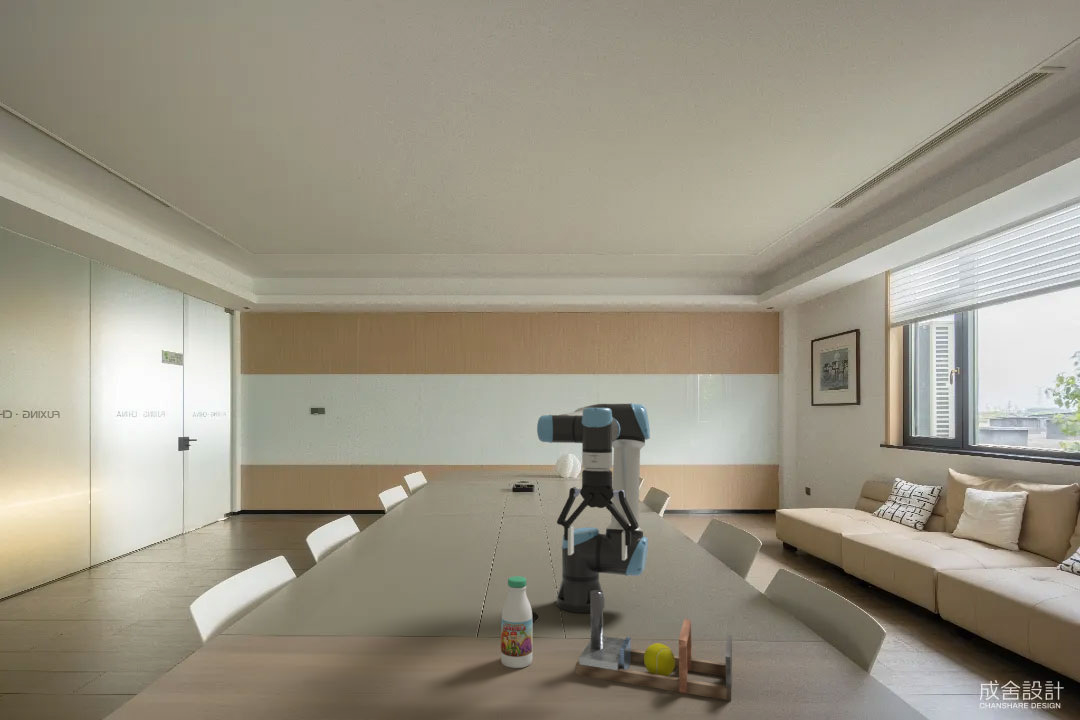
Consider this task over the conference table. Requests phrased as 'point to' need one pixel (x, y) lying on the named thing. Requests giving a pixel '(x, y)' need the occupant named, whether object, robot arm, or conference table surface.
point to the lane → (681, 662)
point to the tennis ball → (659, 659)
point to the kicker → (604, 642)
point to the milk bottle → (516, 626)
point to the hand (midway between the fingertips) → (597, 556)
